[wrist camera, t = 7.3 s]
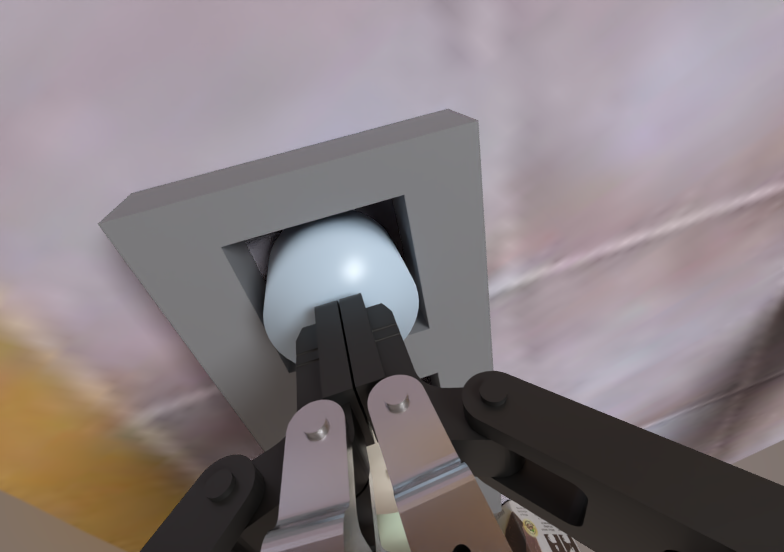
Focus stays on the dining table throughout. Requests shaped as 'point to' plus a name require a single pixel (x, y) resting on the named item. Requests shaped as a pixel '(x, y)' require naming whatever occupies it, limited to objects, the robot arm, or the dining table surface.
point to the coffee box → (531, 531)
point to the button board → (301, 205)
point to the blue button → (333, 275)
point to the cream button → (381, 481)
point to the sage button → (392, 533)
